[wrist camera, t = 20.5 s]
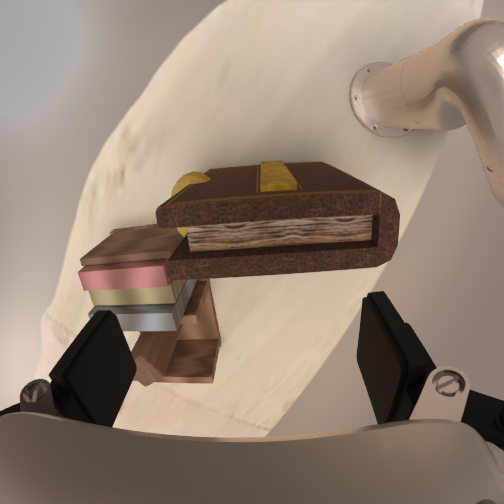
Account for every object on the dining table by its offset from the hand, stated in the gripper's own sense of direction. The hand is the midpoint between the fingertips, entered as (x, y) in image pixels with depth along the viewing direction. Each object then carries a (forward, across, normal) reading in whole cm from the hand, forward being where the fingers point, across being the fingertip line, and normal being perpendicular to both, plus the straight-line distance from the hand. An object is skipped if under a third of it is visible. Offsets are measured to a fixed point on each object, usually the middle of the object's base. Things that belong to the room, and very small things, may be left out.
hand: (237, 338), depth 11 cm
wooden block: (+37, +19, +22) cm, 47 cm away
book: (+38, -1, +1) cm, 39 cm away
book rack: (+38, +18, +18) cm, 46 cm away
